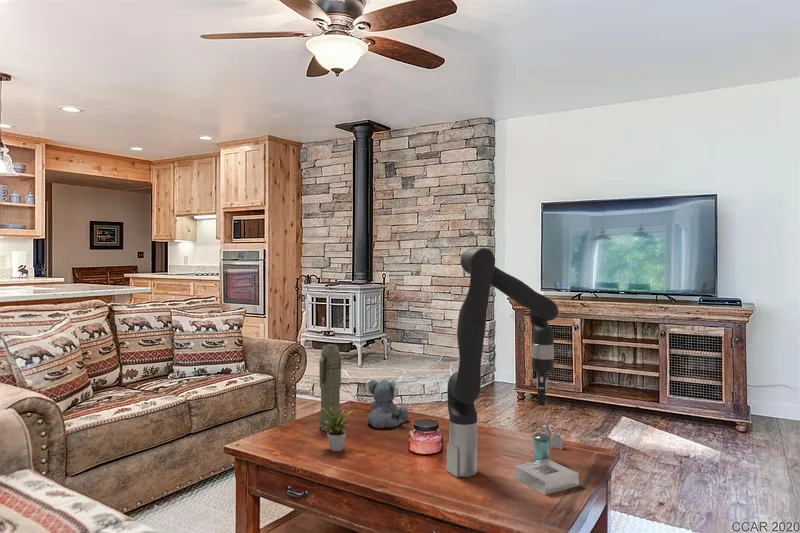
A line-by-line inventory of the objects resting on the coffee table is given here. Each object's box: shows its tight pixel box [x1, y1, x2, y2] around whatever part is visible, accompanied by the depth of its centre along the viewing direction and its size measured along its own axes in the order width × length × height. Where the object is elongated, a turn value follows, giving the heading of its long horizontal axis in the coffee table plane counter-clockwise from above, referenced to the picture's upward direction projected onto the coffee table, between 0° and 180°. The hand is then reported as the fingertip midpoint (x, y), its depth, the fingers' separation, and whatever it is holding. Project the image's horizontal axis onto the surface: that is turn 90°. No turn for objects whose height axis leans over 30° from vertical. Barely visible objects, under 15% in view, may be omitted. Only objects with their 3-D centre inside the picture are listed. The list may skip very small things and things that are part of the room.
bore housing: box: [514, 458, 580, 496], centre depth 172 cm, size 14×14×4 cm
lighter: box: [542, 424, 564, 450], centre depth 204 cm, size 7×2×8 cm, turn 59°
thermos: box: [319, 343, 342, 430], centre depth 225 cm, size 9×12×35 cm
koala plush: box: [365, 379, 409, 429], centre depth 231 cm, size 17×18×20 cm
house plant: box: [319, 407, 354, 451], centre depth 200 cm, size 14×14×16 cm
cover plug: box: [532, 432, 551, 462], centre depth 189 cm, size 6×6×9 cm
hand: (541, 402), depth 189 cm, fingers open, 8 cm apart
